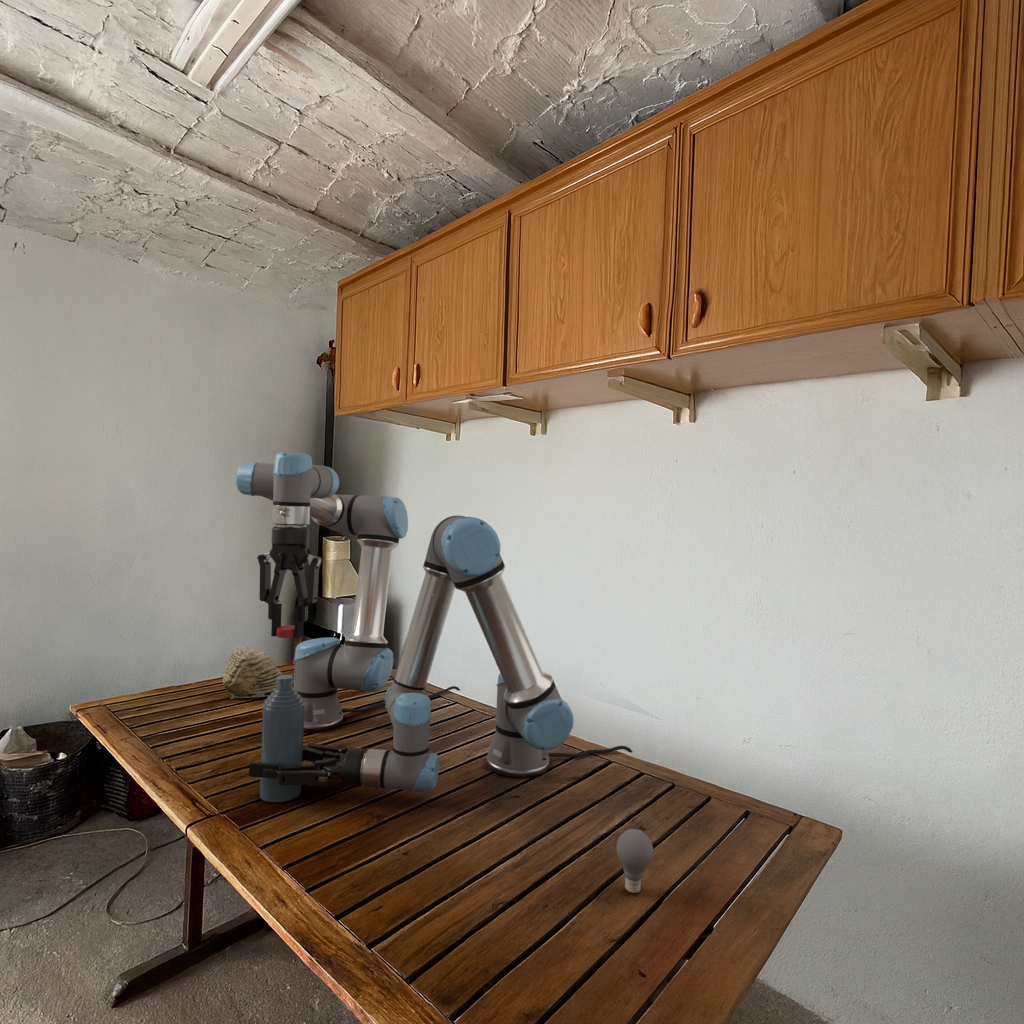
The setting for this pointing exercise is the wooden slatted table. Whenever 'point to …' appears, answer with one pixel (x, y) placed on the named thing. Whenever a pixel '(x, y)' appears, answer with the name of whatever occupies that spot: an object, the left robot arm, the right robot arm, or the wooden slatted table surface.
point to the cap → (285, 631)
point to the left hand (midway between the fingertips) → (287, 635)
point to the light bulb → (634, 857)
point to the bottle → (282, 737)
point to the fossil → (250, 674)
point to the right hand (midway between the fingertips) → (260, 760)
